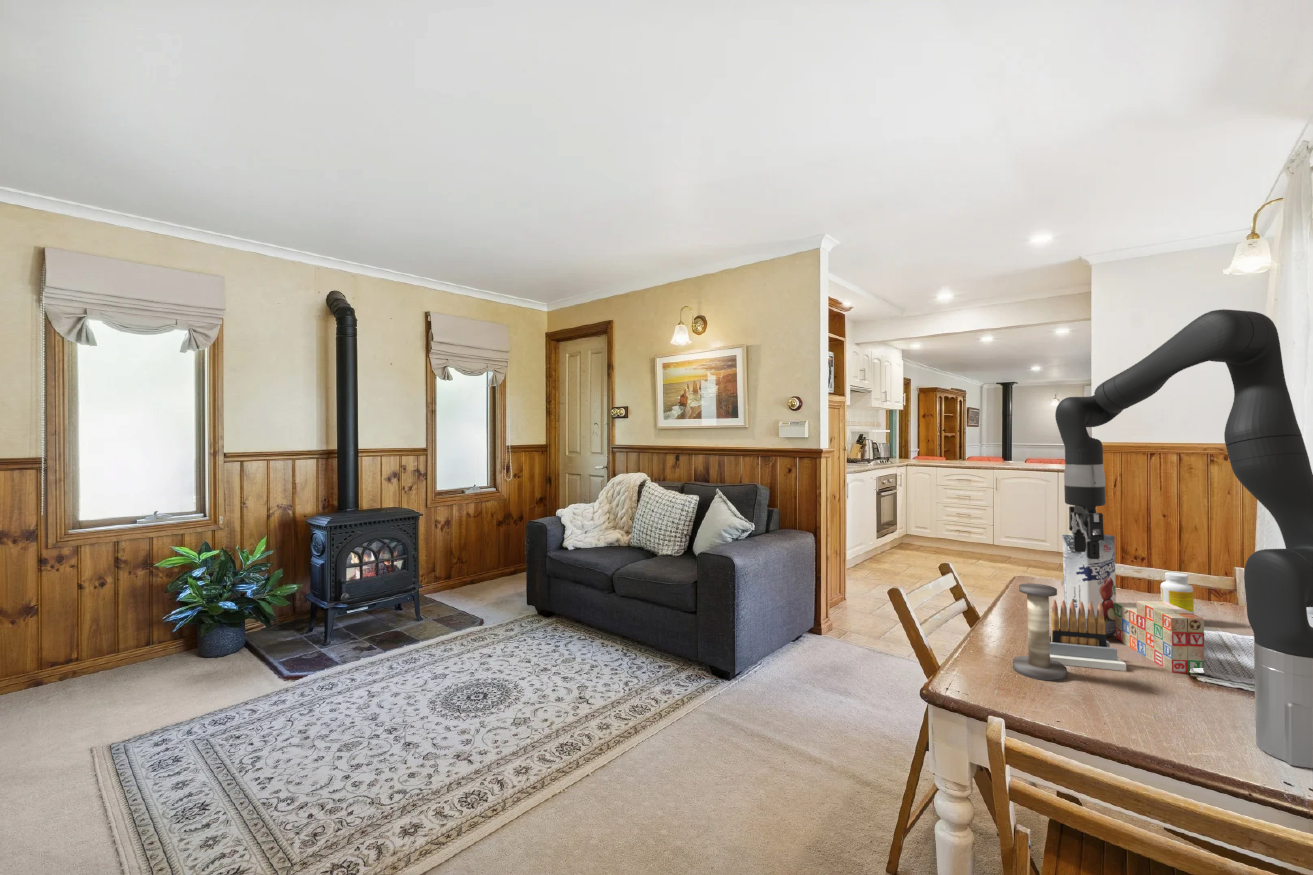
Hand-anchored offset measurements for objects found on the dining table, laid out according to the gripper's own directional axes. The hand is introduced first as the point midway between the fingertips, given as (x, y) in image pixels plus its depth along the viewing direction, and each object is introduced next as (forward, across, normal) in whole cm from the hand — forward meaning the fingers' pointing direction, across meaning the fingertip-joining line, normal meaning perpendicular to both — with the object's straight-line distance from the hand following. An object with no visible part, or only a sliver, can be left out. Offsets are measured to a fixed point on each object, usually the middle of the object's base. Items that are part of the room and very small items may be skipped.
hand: (1086, 555), depth 132 cm
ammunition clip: (+23, +1, +2) cm, 23 cm away
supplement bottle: (+24, +38, -32) cm, 55 cm away
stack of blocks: (+25, +9, -16) cm, 31 cm away
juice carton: (+24, +21, -6) cm, 33 cm away
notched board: (+24, +1, +2) cm, 24 cm away
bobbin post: (+24, -9, +12) cm, 29 cm away
